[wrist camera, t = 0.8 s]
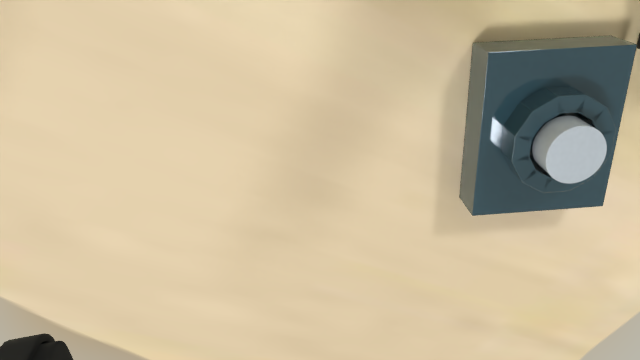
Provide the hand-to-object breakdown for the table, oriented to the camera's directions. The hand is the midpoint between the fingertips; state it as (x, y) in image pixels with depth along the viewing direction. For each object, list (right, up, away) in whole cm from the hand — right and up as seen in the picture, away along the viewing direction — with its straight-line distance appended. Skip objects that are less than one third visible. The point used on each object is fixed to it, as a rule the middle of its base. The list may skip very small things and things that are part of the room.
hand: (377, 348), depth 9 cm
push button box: (+15, +7, +33) cm, 37 cm away
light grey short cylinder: (+15, +5, +29) cm, 33 cm away
